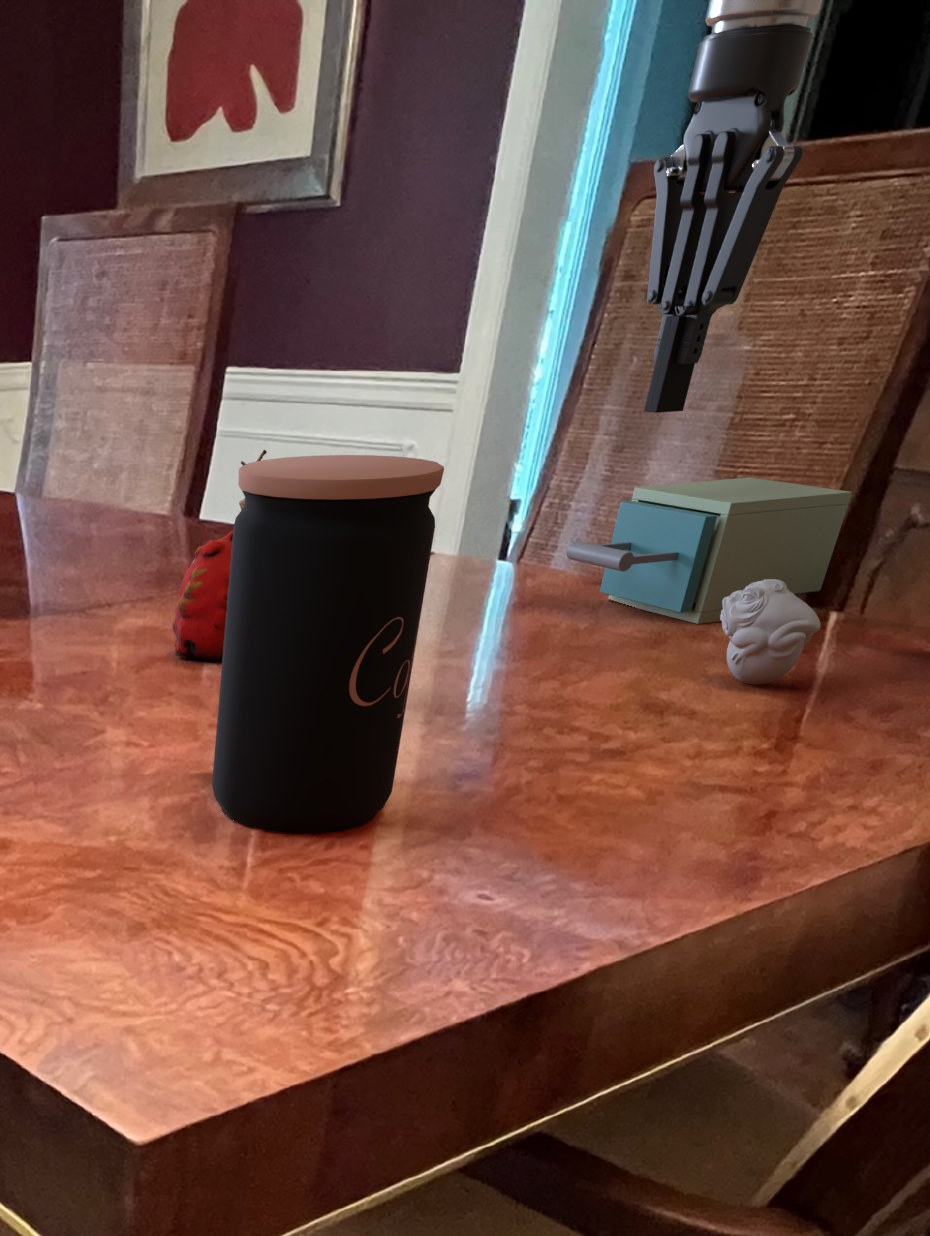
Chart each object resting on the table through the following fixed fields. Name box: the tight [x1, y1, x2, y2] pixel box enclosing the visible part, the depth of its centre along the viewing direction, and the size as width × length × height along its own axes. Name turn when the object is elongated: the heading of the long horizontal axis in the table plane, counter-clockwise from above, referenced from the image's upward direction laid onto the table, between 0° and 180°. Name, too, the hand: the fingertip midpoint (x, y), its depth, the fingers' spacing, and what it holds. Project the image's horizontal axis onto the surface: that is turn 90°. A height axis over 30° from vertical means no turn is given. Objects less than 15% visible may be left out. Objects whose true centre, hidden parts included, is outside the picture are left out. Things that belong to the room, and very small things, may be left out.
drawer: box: [566, 500, 721, 613], centre depth 121 cm, size 18×11×7 cm, turn 108°
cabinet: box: [607, 477, 853, 625], centre depth 123 cm, size 13×12×9 cm
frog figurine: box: [720, 579, 821, 685], centre depth 101 cm, size 6×7×7 cm
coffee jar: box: [211, 454, 445, 835], centre depth 77 cm, size 11×11×18 cm
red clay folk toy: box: [172, 449, 268, 662], centre depth 111 cm, size 8×7×15 cm
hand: (663, 410), depth 114 cm, fingers closed
